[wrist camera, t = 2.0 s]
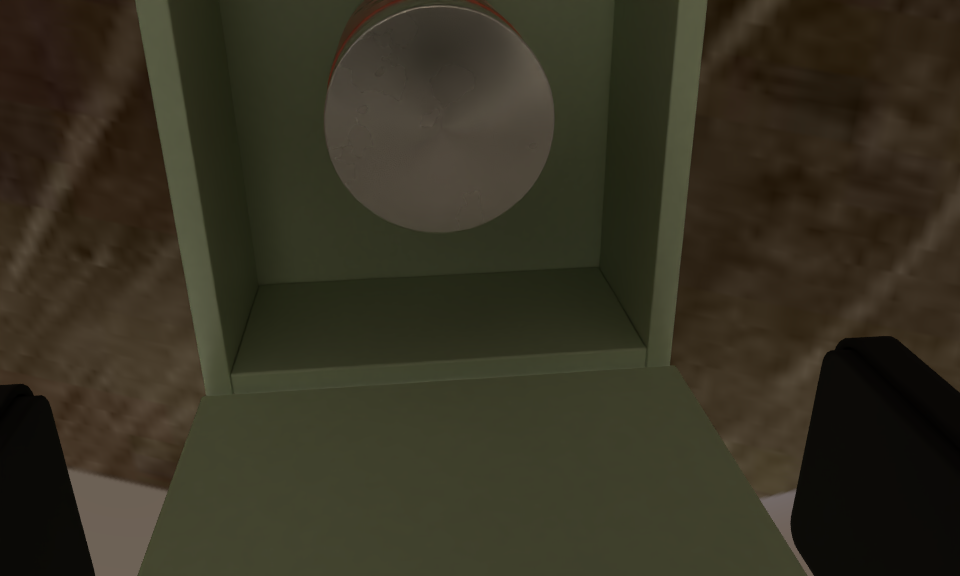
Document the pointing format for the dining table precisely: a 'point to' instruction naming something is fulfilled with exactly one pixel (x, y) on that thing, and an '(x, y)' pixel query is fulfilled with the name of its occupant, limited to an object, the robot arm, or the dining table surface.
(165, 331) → the dining table surface
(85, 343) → the dining table surface
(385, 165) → the can
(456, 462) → the lid
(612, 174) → the chest
